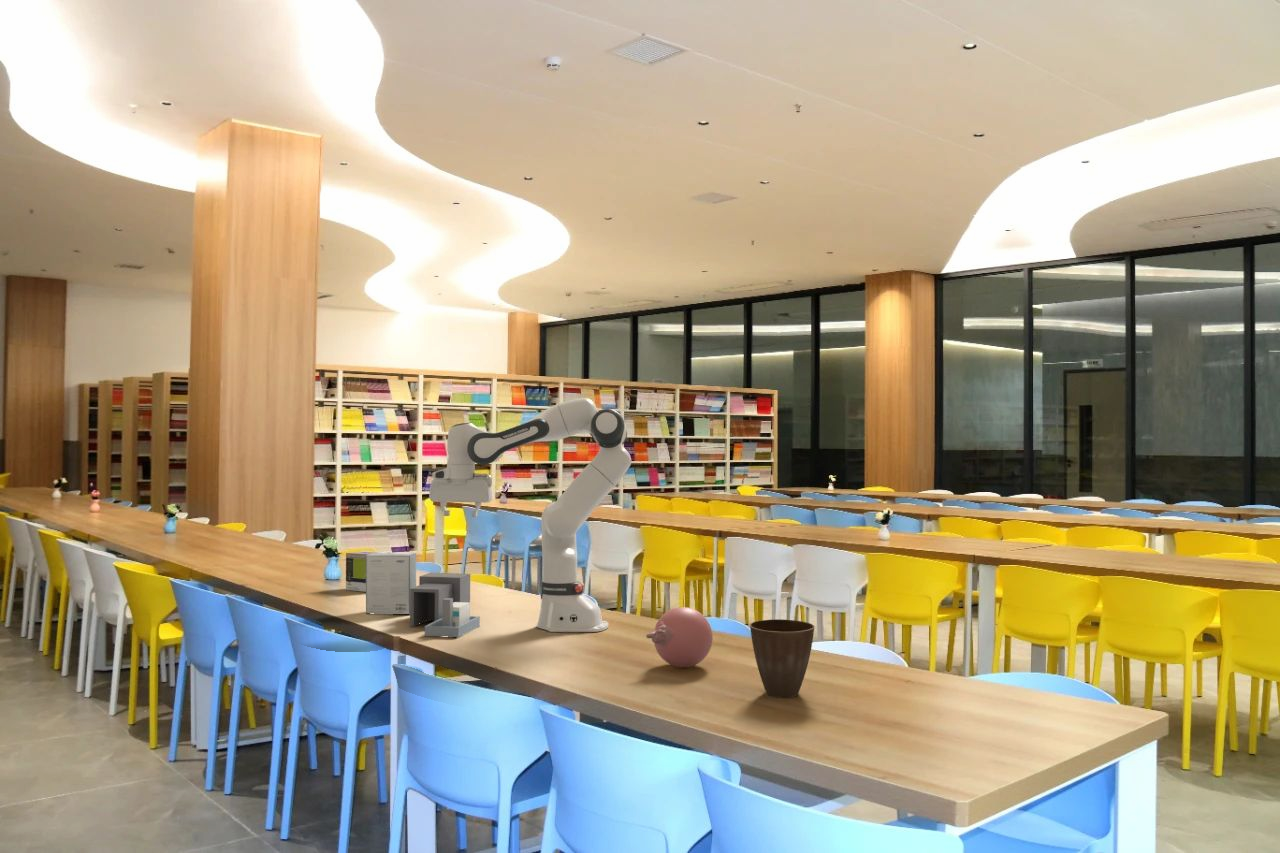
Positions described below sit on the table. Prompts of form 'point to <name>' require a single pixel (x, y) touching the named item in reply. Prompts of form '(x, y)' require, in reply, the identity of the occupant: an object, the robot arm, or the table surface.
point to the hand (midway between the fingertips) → (460, 516)
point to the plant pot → (782, 654)
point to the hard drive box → (389, 582)
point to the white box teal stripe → (455, 613)
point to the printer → (437, 595)
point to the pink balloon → (682, 637)
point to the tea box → (357, 570)
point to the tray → (451, 628)
